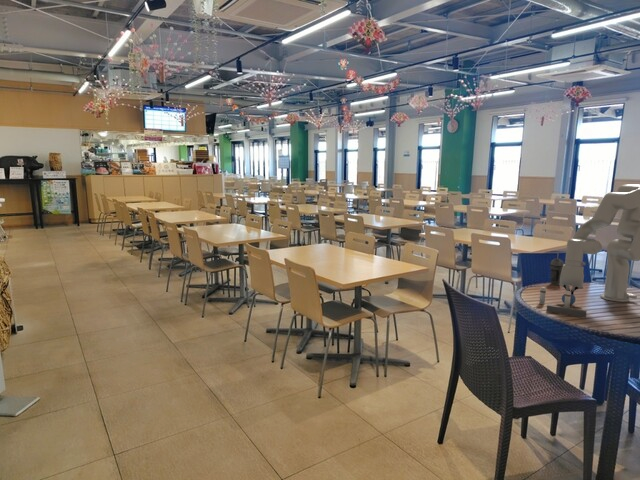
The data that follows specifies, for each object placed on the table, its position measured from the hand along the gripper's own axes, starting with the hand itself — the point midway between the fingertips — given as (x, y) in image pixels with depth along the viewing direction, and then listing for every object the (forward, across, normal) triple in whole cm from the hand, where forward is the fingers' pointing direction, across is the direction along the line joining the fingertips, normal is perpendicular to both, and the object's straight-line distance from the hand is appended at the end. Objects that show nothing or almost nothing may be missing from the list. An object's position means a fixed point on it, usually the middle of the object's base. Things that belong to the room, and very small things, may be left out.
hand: (569, 298), depth 220 cm
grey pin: (+2, +10, +13) cm, 16 cm away
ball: (-1, 0, +6) cm, 6 cm away
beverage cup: (+2, +12, -36) cm, 38 cm away
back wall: (+2, -2, +23) cm, 24 cm away
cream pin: (+2, -1, +12) cm, 13 cm away
